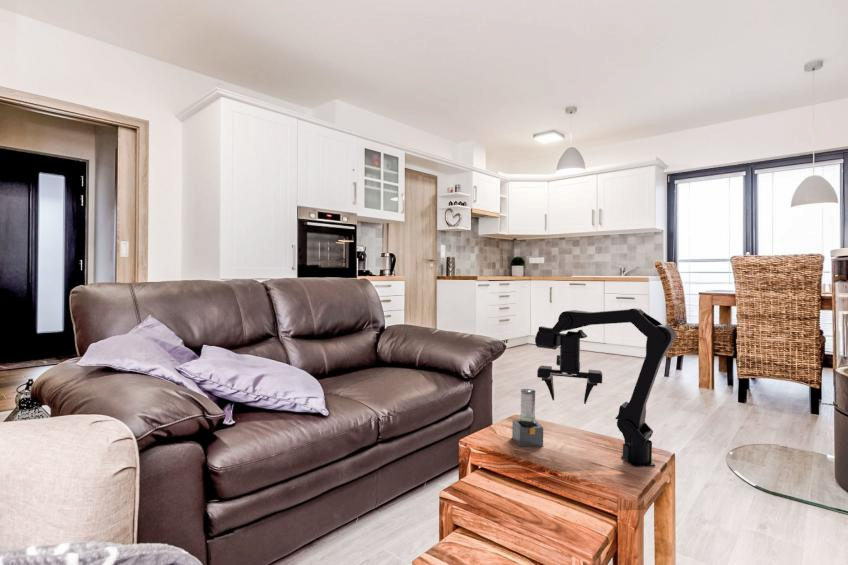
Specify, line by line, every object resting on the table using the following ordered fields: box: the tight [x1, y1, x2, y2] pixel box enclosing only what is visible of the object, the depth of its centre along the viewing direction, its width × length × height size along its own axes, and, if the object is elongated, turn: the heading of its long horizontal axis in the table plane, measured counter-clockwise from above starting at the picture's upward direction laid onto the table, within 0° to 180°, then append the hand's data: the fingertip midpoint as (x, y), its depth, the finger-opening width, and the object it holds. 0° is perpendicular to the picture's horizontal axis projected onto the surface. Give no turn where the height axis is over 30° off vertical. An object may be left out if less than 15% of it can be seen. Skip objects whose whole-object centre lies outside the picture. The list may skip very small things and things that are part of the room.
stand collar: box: [511, 419, 544, 448], centre depth 133 cm, size 8×8×6 cm
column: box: [519, 388, 536, 427], centre depth 134 cm, size 4×4×12 cm
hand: (568, 401), depth 135 cm, fingers open, 9 cm apart
